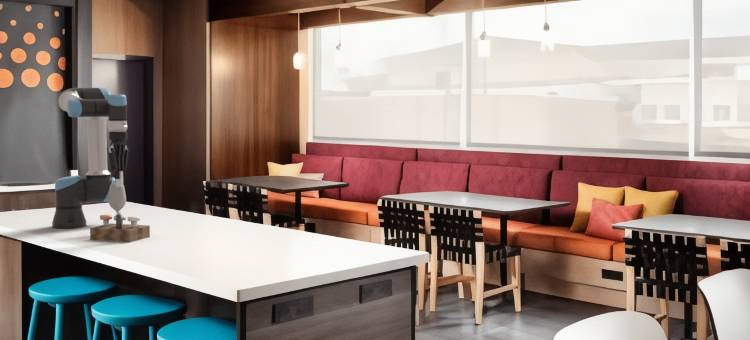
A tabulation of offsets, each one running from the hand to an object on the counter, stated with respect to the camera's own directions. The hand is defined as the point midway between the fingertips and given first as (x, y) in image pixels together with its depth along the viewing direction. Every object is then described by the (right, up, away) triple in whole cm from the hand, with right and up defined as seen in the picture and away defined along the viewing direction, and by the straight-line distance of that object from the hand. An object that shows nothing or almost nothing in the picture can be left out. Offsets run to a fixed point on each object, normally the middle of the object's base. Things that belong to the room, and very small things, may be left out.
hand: (119, 186), depth 364 cm
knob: (+6, -19, -1) cm, 20 cm away
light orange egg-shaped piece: (-7, -19, +4) cm, 21 cm away
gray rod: (+1, -18, -5) cm, 18 cm away
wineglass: (-7, -21, +20) cm, 30 cm away
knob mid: (0, -19, +2) cm, 19 cm away
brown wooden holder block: (0, -22, +2) cm, 22 cm away
